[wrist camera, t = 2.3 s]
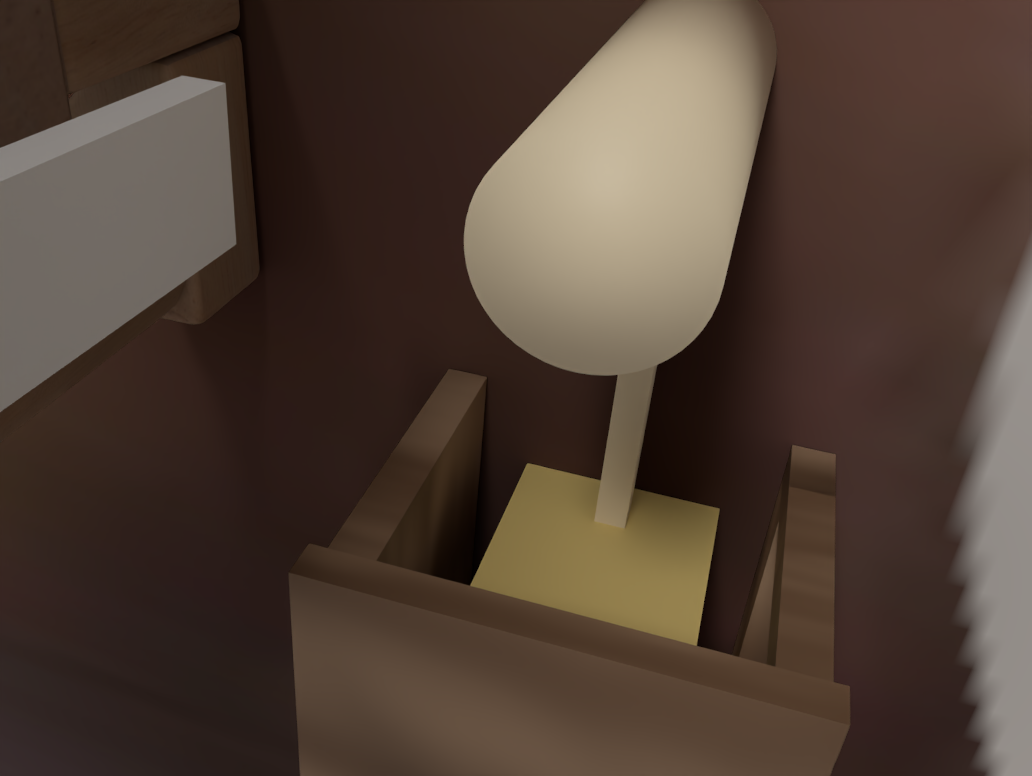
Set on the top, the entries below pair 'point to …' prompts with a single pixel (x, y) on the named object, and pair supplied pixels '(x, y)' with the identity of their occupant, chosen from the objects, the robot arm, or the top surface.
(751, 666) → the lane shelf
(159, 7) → the wooden block
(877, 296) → the top surface
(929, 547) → the top surface
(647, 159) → the block
